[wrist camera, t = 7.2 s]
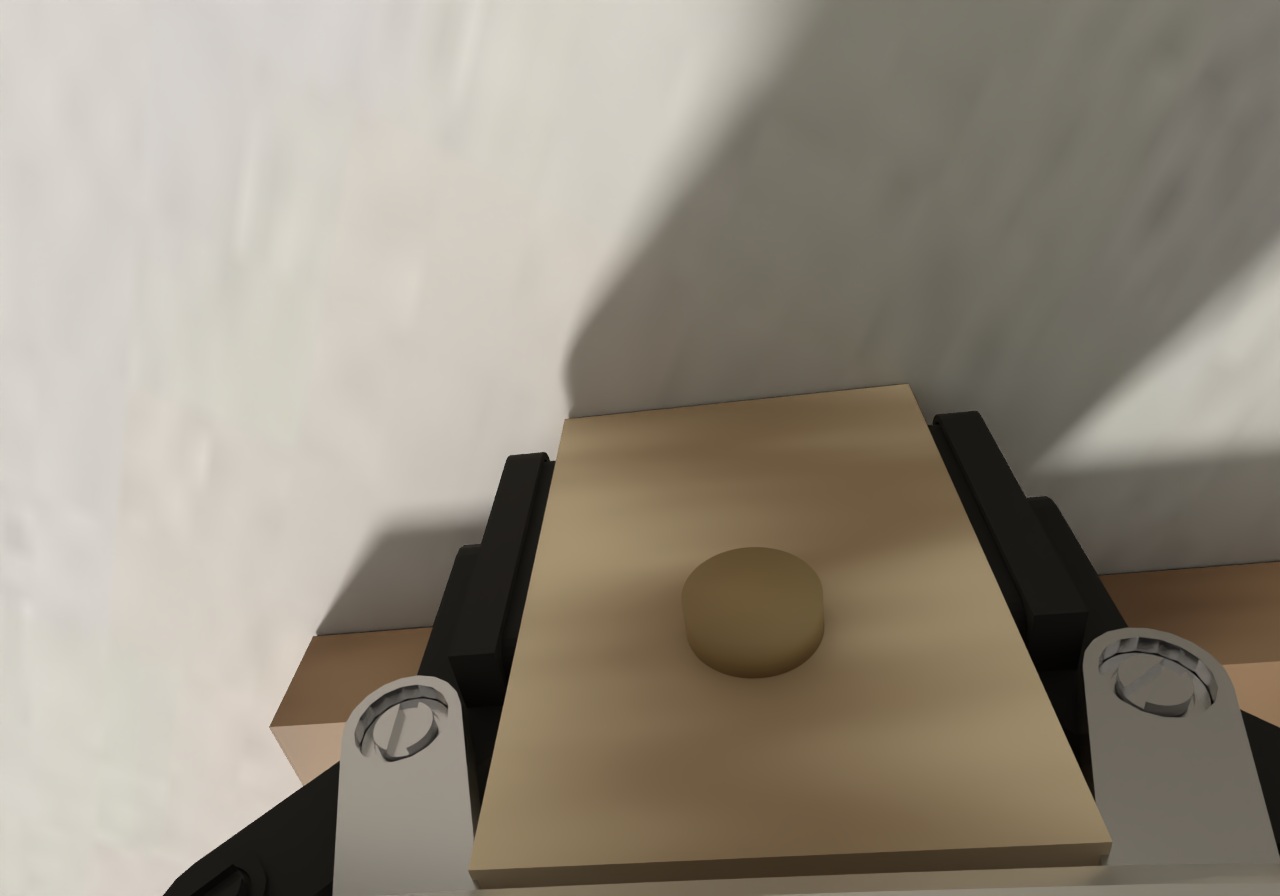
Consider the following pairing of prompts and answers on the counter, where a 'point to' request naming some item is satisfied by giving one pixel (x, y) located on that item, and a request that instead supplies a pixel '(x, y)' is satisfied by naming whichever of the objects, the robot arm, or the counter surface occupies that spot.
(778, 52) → the counter surface
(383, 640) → the board
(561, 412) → the counter surface
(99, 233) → the counter surface
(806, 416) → the board
